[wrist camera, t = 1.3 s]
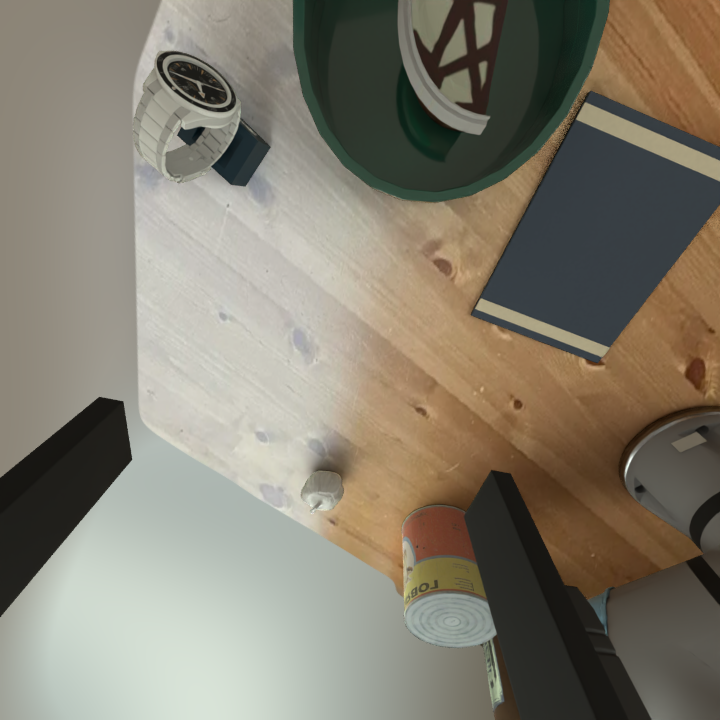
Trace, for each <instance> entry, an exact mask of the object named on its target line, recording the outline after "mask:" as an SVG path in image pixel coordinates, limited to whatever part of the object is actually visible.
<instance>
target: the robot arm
mask: <svg viewBox="0 0 720 720" xmlns="http://www.w3.org/2000/svg"><path fill="white" fill-rule="evenodd" d="M131 460H132V455H131V448H130V442H129V436H128V429H127V422H126V416H125V410H124V403H123V401H118V400H113V399H108V398H102V397H99V398H97V399H96V400H95V401H94V402H93V403H91V404H90V405H89V406H88V407H86V408H85V409H84V410H83V411H82V412H80V413H79V414H78V415H77V416H75V417H74V418H73V419H72V420H71V421H69V422H68V423H67V424H66V425H64V426H63V427H62V428H61V429H60V430H58V431H57V432H56V433H55V434H53V435H52V436H51V437H50V438H48V439H47V440H46V441H45V442H44V443H42V444H41V445H40V446H39V447H37V448H36V449H35V450H34V451H33V452H31V453H30V454H29V455H28V456H26V457H25V458H24V459H23V460H22V461H20V462H19V463H18V464H17V465H15V466H14V467H13V468H12V469H11V470H9V471H8V472H7V473H6V474H4V476H2V477H1V478H0V617H1V615H2V614H3V613H4V612H5V611H6V610H7V608H8V607H9V606H10V605H11V604H12V603H13V601H14V600H15V599H16V598H17V597H18V595H19V594H20V593H21V592H22V590H23V589H24V588H25V587H26V586H27V585H28V583H29V582H30V581H31V580H32V579H33V577H34V576H35V575H36V574H37V573H38V571H39V570H40V569H41V568H42V567H43V565H44V564H45V563H46V562H47V561H48V559H49V558H50V557H51V556H52V555H53V553H54V552H55V551H56V550H57V549H58V548H59V546H60V545H61V544H62V543H63V542H64V540H65V539H66V538H67V537H68V536H69V534H70V533H71V532H72V531H73V530H74V528H75V527H76V526H77V525H78V524H79V522H80V521H81V520H82V519H83V518H84V516H85V515H86V514H87V513H88V512H89V511H90V509H91V508H92V507H93V506H94V505H95V503H96V502H97V501H98V500H99V499H100V497H101V496H102V495H103V494H104V493H105V491H106V490H107V489H108V488H109V487H110V485H111V484H112V483H113V482H114V481H115V479H116V478H117V477H118V476H119V475H120V473H121V472H122V471H123V470H124V469H125V468H126V466H127V465H128V464H129V463H130V462H131ZM619 477H620V480H621V482H622V484H623V486H624V487H625V488H626V490H627V491H628V492H629V493H630V494H631V496H632V497H633V498H634V499H635V500H636V501H637V502H639V503H640V504H641V505H642V506H643V507H645V508H646V509H648V510H649V511H651V512H652V513H653V514H655V515H656V516H658V517H659V518H661V519H662V520H664V521H665V522H667V523H668V524H670V525H671V526H673V527H674V528H676V529H677V530H679V531H680V532H682V533H683V534H685V535H686V536H688V537H689V538H690V539H691V540H692V541H693V542H694V543H695V544H696V546H697V547H698V548H699V549H700V550H701V551H702V552H703V553H704V554H703V555H700V556H698V557H695V558H693V559H690V560H687V561H685V562H682V563H680V564H677V565H674V566H672V567H669V568H666V569H664V570H661V571H658V572H656V573H653V574H651V575H648V576H645V577H643V578H640V579H637V580H635V581H632V582H629V583H627V584H624V585H622V586H619V587H616V588H615V587H609V588H607V589H606V590H605V592H604V593H602V594H600V595H597V596H595V597H593V598H591V599H589V600H587V599H586V598H585V597H584V596H583V594H582V593H581V592H580V591H579V589H578V588H577V587H573V586H566V585H564V583H563V581H562V579H561V577H560V575H559V573H558V571H557V569H556V567H555V565H554V563H553V561H552V559H551V556H550V554H549V552H548V550H547V548H546V546H545V544H544V542H543V540H542V538H541V536H540V534H539V531H538V529H537V527H536V525H535V523H534V521H533V519H532V517H531V515H530V513H529V511H528V509H527V506H526V504H525V502H524V500H523V498H522V496H521V494H520V492H519V490H518V488H517V486H516V484H515V482H514V479H513V477H512V475H511V474H510V473H505V472H499V471H494V470H491V472H490V473H489V475H488V477H487V478H486V480H485V482H484V483H483V485H482V487H481V488H480V490H479V492H478V493H477V495H476V497H475V498H474V500H473V502H472V503H471V505H470V507H469V508H468V510H467V512H466V513H465V515H464V519H465V523H466V527H467V530H468V534H469V537H470V541H471V544H472V548H473V551H474V555H475V559H476V562H477V566H478V569H479V573H480V576H481V580H482V583H483V587H484V591H485V594H486V598H487V601H488V605H489V608H490V612H491V615H492V619H493V623H494V626H495V630H496V633H497V637H498V640H499V644H500V647H501V651H502V655H503V658H504V662H505V665H506V669H507V672H508V676H509V679H510V683H511V687H512V690H513V694H514V697H515V701H516V704H517V708H518V711H519V715H520V719H521V720H720V407H698V408H692V409H688V410H684V411H680V412H677V413H674V414H671V415H669V416H666V417H664V418H662V419H660V420H658V421H656V422H654V423H653V424H651V425H649V426H648V427H647V428H645V429H644V430H642V431H641V432H640V433H639V434H638V435H637V436H636V437H635V438H634V439H633V440H632V441H631V442H630V443H629V444H628V446H627V447H626V449H625V450H624V452H623V454H622V456H621V459H620V462H619Z"/></svg>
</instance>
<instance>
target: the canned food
mask: <svg viewBox="0 0 720 720" xmlns="http://www.w3.org/2000/svg"><path fill="white" fill-rule="evenodd" d="M465 513H466V512H465V511H463V510H461V509H459V508H456V507H453V506H448V505H430V506H426V507H422V508H420V509H417V510H415V511H414V512H412V513H411V514H410V515H409V516H408V517H407V518H406V519H405V520H404V522H403V525H402V536H403V572H404V606H405V613H404V622H405V625H406V627H407V629H408V630H409V631H410V632H411V633H412V634H413V635H414V636H415V637H417V638H418V639H420V640H422V641H425V642H427V643H429V644H432V645H436V646H441V647H448V648H463V647H471V646H476V645H479V644H482V643H485V642H487V641H489V640H490V639H492V638H493V637H494V636H495V635H496V634H497V633H496V630H495V626H494V623H493V619H492V615H491V612H490V608H489V605H488V601H487V598H486V594H485V591H484V587H483V583H482V580H481V576H480V573H479V569H478V566H477V562H476V559H475V555H474V551H473V548H472V544H471V541H470V537H469V534H468V530H467V527H466V523H465V519H464V515H465Z"/></svg>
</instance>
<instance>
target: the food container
mask: <svg viewBox="0 0 720 720" xmlns="http://www.w3.org/2000/svg"><path fill="white" fill-rule="evenodd" d="M507 4H508V0H399V1H398V35H399V46H400V50H401V55H402V59H403V64H404V67H405V70H406V72H407V75H408V78H409V80H410V83H411V85H412V86H413V88H414V91H415V94H416V97H417V99H418V102H419V103H420V105H421V107H422V109H423V110H424V111H425V113H426V114H427V115H428V116H429V117H430V118H431V119H432V120H433V121H434V122H436V123H437V124H439V125H440V126H442V127H444V128H447V129H449V130H452V131H459V132H466V133H471V134H477V135H480V134H481V133H482V131H483V130H484V128H485V127H486V125H487V121H488V120H489V119H490V116H486V110H487V106H488V103H489V93H490V87H491V82H492V77H493V72H494V67H495V62H496V57H497V52H498V47H499V42H500V37H501V33H502V28H503V23H504V18H505V14H506V9H507Z"/></svg>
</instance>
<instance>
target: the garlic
mask: <svg viewBox="0 0 720 720" xmlns="http://www.w3.org/2000/svg"><path fill="white" fill-rule="evenodd" d="M343 493H344V488H343V486H342V479H341V477H340V475H339V474H337V473H335V472H331V471H316V472H315V473H313V474H312V475H311V476H310V478H309V479H308V480H307V481H306V483H305V486H304V487H303V489H302V491H301V498H302V500H303V501H304V502H306V503H308V504H309V505H310V506H311V507H312V508H313V509H312V510H311V511H310V513H311V514H313V513H314V512H315V510H316V509H317V510H331V509H333V508H334V507H335V505H337V503H338V502H339V501H340V500H341V498H342V496H343Z"/></svg>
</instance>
